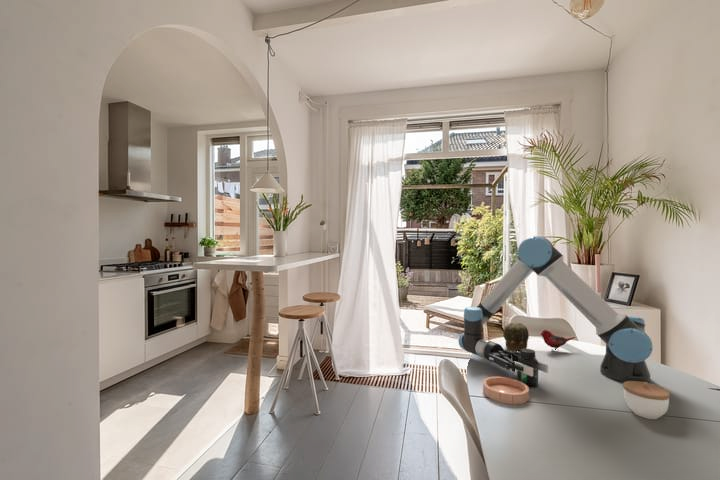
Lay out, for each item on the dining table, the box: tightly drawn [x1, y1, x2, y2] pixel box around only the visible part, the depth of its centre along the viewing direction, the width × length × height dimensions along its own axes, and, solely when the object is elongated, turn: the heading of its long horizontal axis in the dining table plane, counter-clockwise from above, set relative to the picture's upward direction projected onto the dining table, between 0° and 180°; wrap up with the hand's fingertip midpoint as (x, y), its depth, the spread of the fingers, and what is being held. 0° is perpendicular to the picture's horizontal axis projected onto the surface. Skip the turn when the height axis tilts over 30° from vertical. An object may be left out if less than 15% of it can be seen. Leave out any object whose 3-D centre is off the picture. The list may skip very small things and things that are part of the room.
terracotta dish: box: [482, 376, 530, 405], centre depth 115 cm, size 14×14×3 cm
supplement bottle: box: [516, 348, 539, 389], centre depth 123 cm, size 7×7×12 cm
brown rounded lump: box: [502, 322, 530, 351], centre depth 163 cm, size 11×11×12 cm
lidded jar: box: [622, 381, 671, 420], centre depth 102 cm, size 11×11×9 cm
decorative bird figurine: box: [540, 329, 576, 350], centre depth 160 cm, size 3×18×10 cm, turn 96°
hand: (540, 370), depth 119 cm, fingers closed on supplement bottle, 7 cm apart
